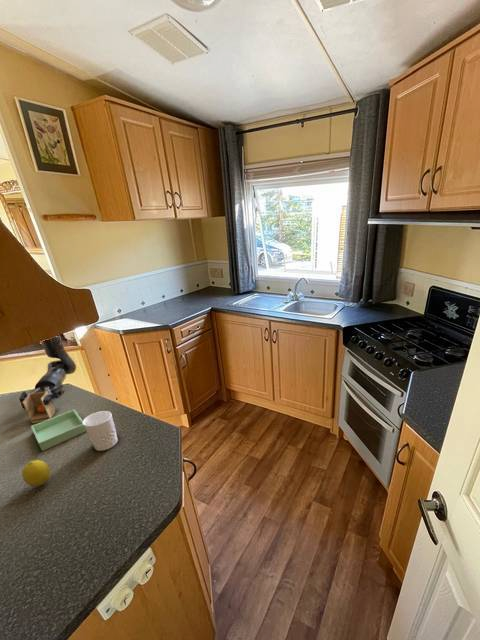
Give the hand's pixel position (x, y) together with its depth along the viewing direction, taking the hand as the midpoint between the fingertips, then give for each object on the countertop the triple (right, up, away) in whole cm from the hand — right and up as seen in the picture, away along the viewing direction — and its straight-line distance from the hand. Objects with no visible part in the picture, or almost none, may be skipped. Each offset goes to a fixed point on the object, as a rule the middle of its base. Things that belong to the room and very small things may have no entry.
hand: (34, 404), depth 104 cm
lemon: (+22, -18, -24) cm, 38 cm away
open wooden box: (-1, -5, +5) cm, 7 cm away
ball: (-1, -2, +5) cm, 5 cm away
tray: (+12, -9, -4) cm, 15 cm away
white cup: (+32, -11, -10) cm, 35 cm away
